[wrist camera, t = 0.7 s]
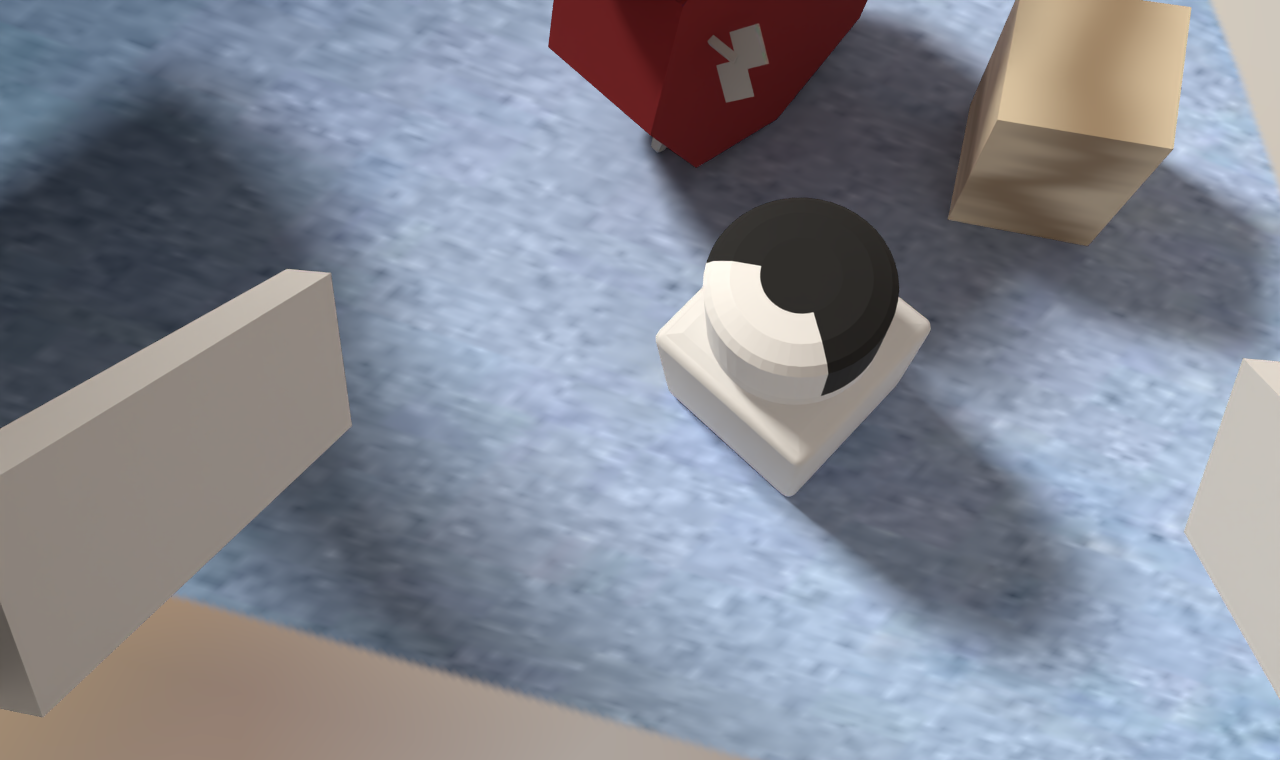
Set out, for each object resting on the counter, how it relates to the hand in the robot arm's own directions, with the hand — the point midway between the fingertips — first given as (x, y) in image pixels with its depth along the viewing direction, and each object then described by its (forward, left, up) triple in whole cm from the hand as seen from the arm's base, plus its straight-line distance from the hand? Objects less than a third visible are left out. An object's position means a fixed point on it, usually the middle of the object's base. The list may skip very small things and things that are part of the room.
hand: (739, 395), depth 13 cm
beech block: (+3, +21, -25) cm, 33 cm away
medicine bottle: (-2, +7, -25) cm, 26 cm away
